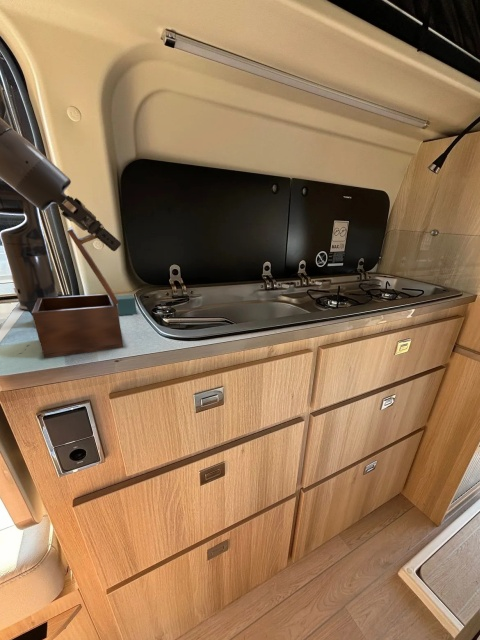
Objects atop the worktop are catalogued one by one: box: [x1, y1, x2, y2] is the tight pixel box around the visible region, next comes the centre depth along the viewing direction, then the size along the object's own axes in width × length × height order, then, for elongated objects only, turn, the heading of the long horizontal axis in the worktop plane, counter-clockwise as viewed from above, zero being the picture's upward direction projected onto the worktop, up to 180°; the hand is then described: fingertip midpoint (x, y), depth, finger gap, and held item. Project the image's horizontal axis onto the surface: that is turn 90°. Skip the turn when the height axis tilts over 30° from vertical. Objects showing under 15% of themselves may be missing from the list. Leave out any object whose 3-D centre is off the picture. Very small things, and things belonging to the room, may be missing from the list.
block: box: [115, 294, 138, 316], centre depth 82 cm, size 4×4×4 cm
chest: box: [31, 293, 124, 359], centre depth 60 cm, size 14×12×9 cm
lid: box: [67, 226, 119, 305], centre depth 58 cm, size 14×12×5 cm
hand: (115, 245), depth 58 cm, fingers open, 8 cm apart
